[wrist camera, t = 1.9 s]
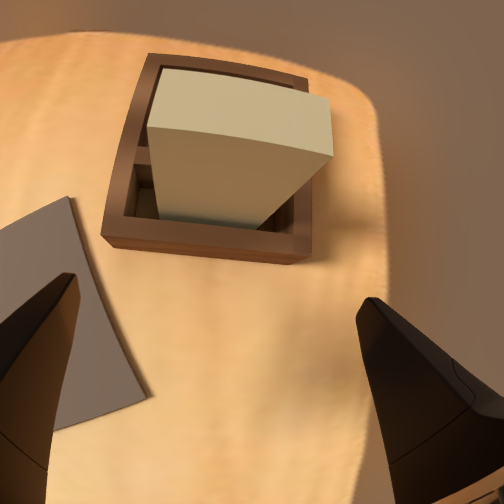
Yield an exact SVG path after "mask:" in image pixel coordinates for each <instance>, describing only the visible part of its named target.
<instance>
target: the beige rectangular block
mask: <svg viewBox="0 0 504 504" xmlns="http://www.w3.org/2000/svg"><path fill="white" fill-rule="evenodd" d="M147 134H148V143H149V151H150V159H151V166H152V174H153V181H154V188H155V194H156V201H157V207H158V213H159V219H160V220H167V221H177V222H187V223H196V224H205V225H215V226H224V227H233V228H241V229H250V230H256V229H257V228H258V227H259V226H260V225H261V224H262V223H263V222H264V221H265V220H267V219H268V218H269V217H270V216H271V215H272V214H273V213H274V212H275V211H276V210H277V209H278V208H279V207H280V206H281V205H282V204H283V203H284V202H286V201H287V200H288V199H289V198H290V197H291V196H292V195H293V194H294V193H295V192H296V191H297V190H298V189H299V188H300V187H301V186H302V185H304V184H305V183H306V182H307V181H308V180H309V179H310V178H311V177H312V176H313V175H314V174H315V173H316V172H317V171H318V170H320V169H321V168H322V167H323V166H324V165H325V164H326V163H327V162H328V161H329V160H330V159H331V158H332V157H333V156H334V154H333V138H332V125H331V113H330V102H329V99H328V98H324V97H321V96H317V95H313V94H310V93H306V92H302V91H298V90H294V89H290V88H286V87H281V86H277V85H272V84H268V83H263V82H258V81H253V80H248V79H242V78H236V77H230V76H224V75H217V74H210V73H203V72H195V71H186V70H176V69H164V68H163V71H162V74H161V77H160V80H159V84H158V87H157V90H156V94H155V97H154V101H153V104H152V108H151V112H150V116H149V119H148V123H147Z"/></svg>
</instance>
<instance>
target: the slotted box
mask: <svg viewBox="0 0 504 504" xmlns="http://www.w3.org/2000/svg"><path fill="white" fill-rule="evenodd" d="M163 68H164V69H176V70H186V71H195V72H203V73H210V74H217V75H224V76H230V77H236V78H242V79H248V80H253V81H258V82H263V83H268V84H272V85H277V86H281V87H286V88H290V89H294V90H298V91H302V92H306V93H309V89H308V79H307V78H303V77H299V76H296V75H292V74H288V73H283V72H279V71H275V70H270V69H266V68H261V67H256V66H251V65H246V64H240V63H234V62H228V61H222V60H215V59H208V58H200V57H191V56H181V55H170V54H156V53H148V56H147V58H146V61H145V63H144V66H143V69H142V72H141V74H140V77H139V80H138V83H137V86H136V89H135V92H134V95H133V98H132V101H131V104H130V108H129V111H128V114H127V117H126V121H125V124H124V128H123V131H122V135H121V139H120V143H119V146H118V150H117V154H116V158H115V163H114V167H113V171H112V176H111V180H110V185H109V190H108V195H107V200H106V205H105V211H104V216H103V222H102V228H101V236H102V237H103V238H104V239H105V240H106V241H107V242H108V243H109V244H110V245H111V246H112V247H113V248H119V249H129V250H138V251H148V252H158V253H168V254H178V255H188V256H198V257H209V258H219V259H230V260H240V261H251V262H262V263H272V264H283V265H290V264H292V263H295V262H298V261H300V260H303V259H306V258H308V257H311V244H312V177H311V178H310V179H309V180H308V181H307V182H306V183H305V184H304V185H302V186H301V187H300V188H299V189H298V190H297V191H296V192H295V193H294V194H293V195H292V196H291V197H290V198H289V199H288V200H287V201H286V202H284V203H283V204H282V205H281V206H280V207H279V208H278V209H277V210H276V211H275V220H274V232H267V231H259V230H250V229H241V228H233V227H224V226H215V225H205V224H196V223H187V222H177V221H167V220H157V219H147V218H137V217H135V212H136V206H137V200H138V194H139V188H149V189H155V188H154V181H153V174H152V166H151V159H150V151H149V143H148V134H147V123H148V119H149V116H150V112H151V108H152V104H153V101H154V97H155V94H156V90H157V87H158V84H159V80H160V77H161V74H162V71H163Z"/></svg>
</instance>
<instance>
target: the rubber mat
mask: <svg viewBox="0 0 504 504" xmlns="http://www.w3.org/2000/svg"><path fill="white" fill-rule="evenodd" d="M63 272H69V273H75V274H76V275H77V278H78V284H79V289H80V294H81V301H80V306H79V311H78V317H77V322H76V327H75V333H74V339H73V344H72V349H71V353H70V357H69V361H68V365H67V368H66V372H65V377H64V381H63V385H62V389H61V394H60V399H59V403H58V408H57V413H56V419H55V424H54V430H57V429H60V428H63V427H66V426H70V425H73V424H76V423H79V422H82V421H85V420H88V419H91V418H94V417H97V416H100V415H103V414H106V413H109V412H111V411H114V410H117V409H120V408H122V407H125V406H128V405H130V404H133V403H136V402H138V401H141V400H143V399H146V397H147V396H146V394H145V392H144V390H143V388H142V387H141V385H140V383H139V381H138V379H137V377H136V375H135V373H134V371H133V369H132V367H131V365H130V363H129V361H128V358H127V356H126V354H125V352H124V350H123V348H122V346H121V343H120V341H119V339H118V337H117V334H116V332H115V330H114V328H113V325H112V323H111V321H110V318H109V316H108V313H107V311H106V308H105V306H104V303H103V301H102V298H101V296H100V293H99V290H98V288H97V285H96V282H95V279H94V277H93V274H92V271H91V268H90V265H89V262H88V259H87V256H86V253H85V250H84V247H83V244H82V241H81V237H80V234H79V231H78V227H77V224H76V220H75V217H74V213H73V209H72V206H71V202H70V198H69V197H68V196H65V197H63V198H61V199H59V200H57V201H55V202H53V203H51V204H49V205H47V206H44V207H42V208H40V209H38V210H36V211H34V212H33V213H31V214H29V215H27V216H25V217H23V218H21V219H19V220H17V221H15V222H14V223H12V224H10V225H8V226H6V227H4V228H3V229H1V230H0V323H1V322H2V321H4V320H5V319H6V318H7V317H8V316H9V315H11V314H12V313H13V312H14V311H15V310H16V309H18V308H19V307H20V306H21V305H22V304H24V303H25V302H26V301H27V300H28V299H30V298H31V297H32V296H33V295H34V294H36V293H37V292H38V291H39V290H41V289H42V288H43V287H44V286H46V285H47V284H48V283H49V282H51V281H52V280H53V279H55V278H56V277H57V276H58V275H60V274H61V273H63Z"/></svg>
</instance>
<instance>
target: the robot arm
mask: <svg viewBox="0 0 504 504" xmlns="http://www.w3.org/2000/svg"><path fill="white" fill-rule="evenodd" d="M80 301H81V294H80V289H79V284H78V278H77V275H76V274H75V273H69V272H63V273H61V274H60V275H58V276H57V277H56V278H55V279H53V280H52V281H51V282H49V283H48V284H47V285H46V286H44V287H43V288H42V289H41V290H39V291H38V292H37V293H36V294H34V295H33V296H32V297H31V298H30V299H28V300H27V301H26V302H25V303H24V304H22V305H21V306H20V307H19V308H18V309H16V310H15V311H14V312H13V313H12V314H11V315H9V316H8V317H7V318H6V319H5V320H4V321H2V322H1V323H0V504H45V500H46V486H47V475H48V472H47V471H48V465H49V457H50V449H51V442H52V436H53V430H54V424H55V419H56V413H57V408H58V403H59V399H60V394H61V389H62V385H63V381H64V377H65V372H66V368H67V365H68V361H69V357H70V353H71V349H72V344H73V339H74V333H75V327H76V322H77V317H78V311H79V306H80ZM356 325H357V331H358V336H359V341H360V347H361V353H362V358H363V362H364V366H365V370H366V373H367V377H368V381H369V385H370V388H371V392H372V396H373V400H374V404H375V408H376V412H377V416H378V420H379V424H380V429H381V433H382V437H383V442H384V447H385V451H386V456H387V461H388V465H389V471H390V476H391V482H392V487H393V493H394V498H395V504H432V503H434V502H437V501H438V504H504V397H502V396H500V395H499V394H498V393H496V392H495V391H494V390H492V389H491V388H490V387H488V386H487V385H486V384H484V383H483V382H482V381H480V380H479V379H478V378H476V377H475V376H474V375H472V374H471V373H470V372H468V371H467V370H466V369H465V368H464V367H463V366H461V365H460V364H459V363H458V362H457V361H455V360H454V359H453V358H451V357H450V356H449V355H448V354H447V353H446V352H445V351H443V350H442V349H441V348H440V347H439V346H437V345H436V344H435V343H434V342H433V341H431V340H430V339H429V338H428V337H427V336H425V335H424V334H423V333H422V332H420V331H419V330H418V329H417V328H415V327H414V326H413V325H412V324H411V323H409V322H408V321H407V320H406V319H404V318H403V317H402V316H400V315H399V314H398V313H397V312H396V311H394V310H393V309H392V308H391V307H389V306H388V305H387V304H386V303H384V302H383V301H382V300H381V299H379V298H377V297H368V298H366V299H365V300H364V302H363V304H362V306H361V307H360V309H359V311H358V313H357V315H356Z"/></svg>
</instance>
